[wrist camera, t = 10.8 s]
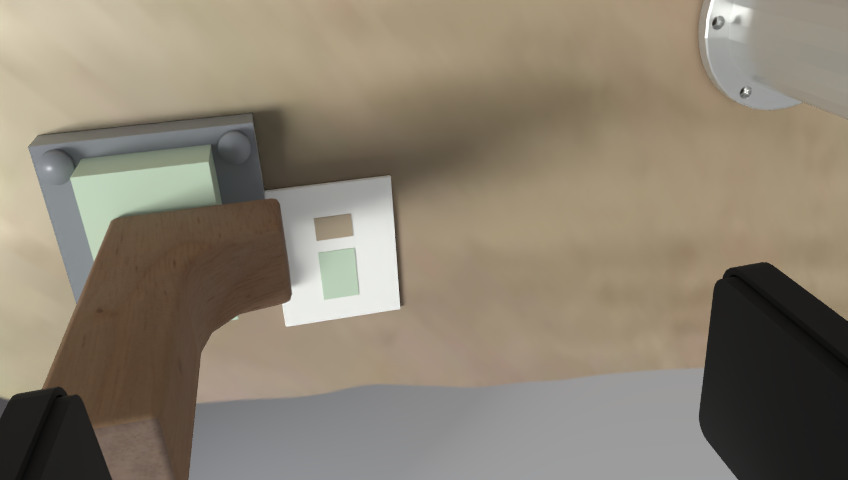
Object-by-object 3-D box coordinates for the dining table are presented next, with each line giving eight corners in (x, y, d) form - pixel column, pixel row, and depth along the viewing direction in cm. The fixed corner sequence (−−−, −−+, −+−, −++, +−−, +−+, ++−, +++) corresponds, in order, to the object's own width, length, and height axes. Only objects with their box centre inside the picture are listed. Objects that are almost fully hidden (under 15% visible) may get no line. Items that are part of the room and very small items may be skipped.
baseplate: (252, 113, 43) (252, 138, 39) (279, 286, 48) (283, 326, 44) (37, 135, 41) (12, 165, 37) (91, 314, 46) (74, 359, 42)
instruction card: (389, 175, 47) (390, 177, 46) (399, 306, 51) (400, 309, 51) (264, 190, 45) (264, 192, 45) (285, 324, 50) (285, 327, 49)
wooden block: (278, 194, 40) (298, 392, 24) (288, 265, 42) (314, 490, 26) (109, 215, 39) (14, 442, 23) (128, 288, 41) (53, 541, 25)
